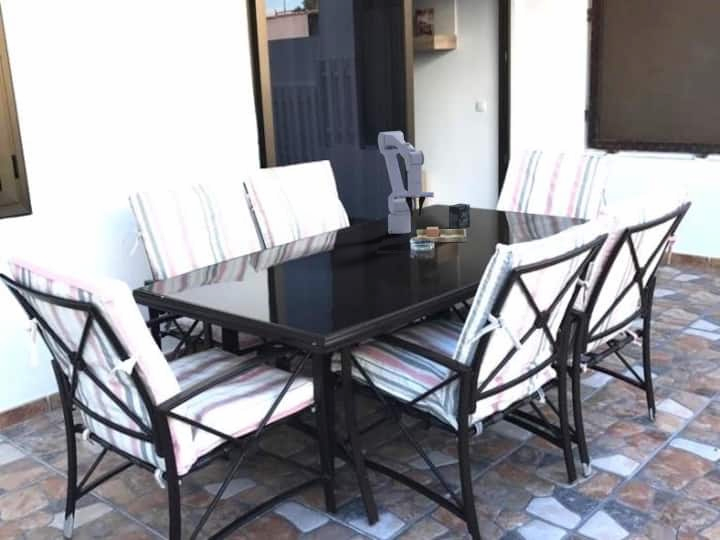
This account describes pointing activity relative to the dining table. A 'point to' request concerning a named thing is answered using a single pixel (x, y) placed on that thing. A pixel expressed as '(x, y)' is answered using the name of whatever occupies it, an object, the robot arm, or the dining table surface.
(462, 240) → the tray
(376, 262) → the dining table surface
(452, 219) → the box
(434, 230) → the block
